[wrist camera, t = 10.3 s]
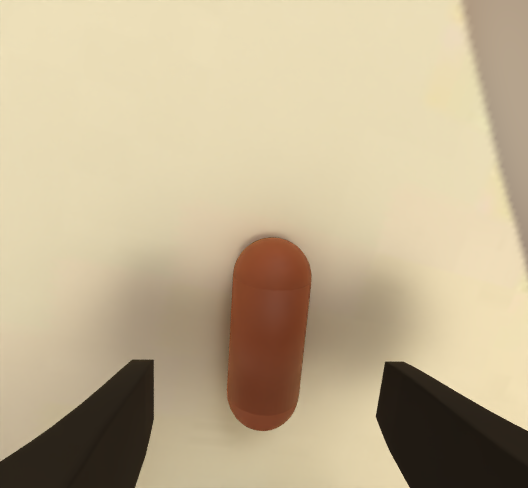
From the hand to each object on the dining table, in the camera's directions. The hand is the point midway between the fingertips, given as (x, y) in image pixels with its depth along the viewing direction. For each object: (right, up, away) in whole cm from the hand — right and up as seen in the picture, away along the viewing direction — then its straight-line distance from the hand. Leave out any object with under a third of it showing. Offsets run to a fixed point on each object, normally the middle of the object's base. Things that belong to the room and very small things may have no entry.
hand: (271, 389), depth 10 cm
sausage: (0, +1, +3) cm, 3 cm away
